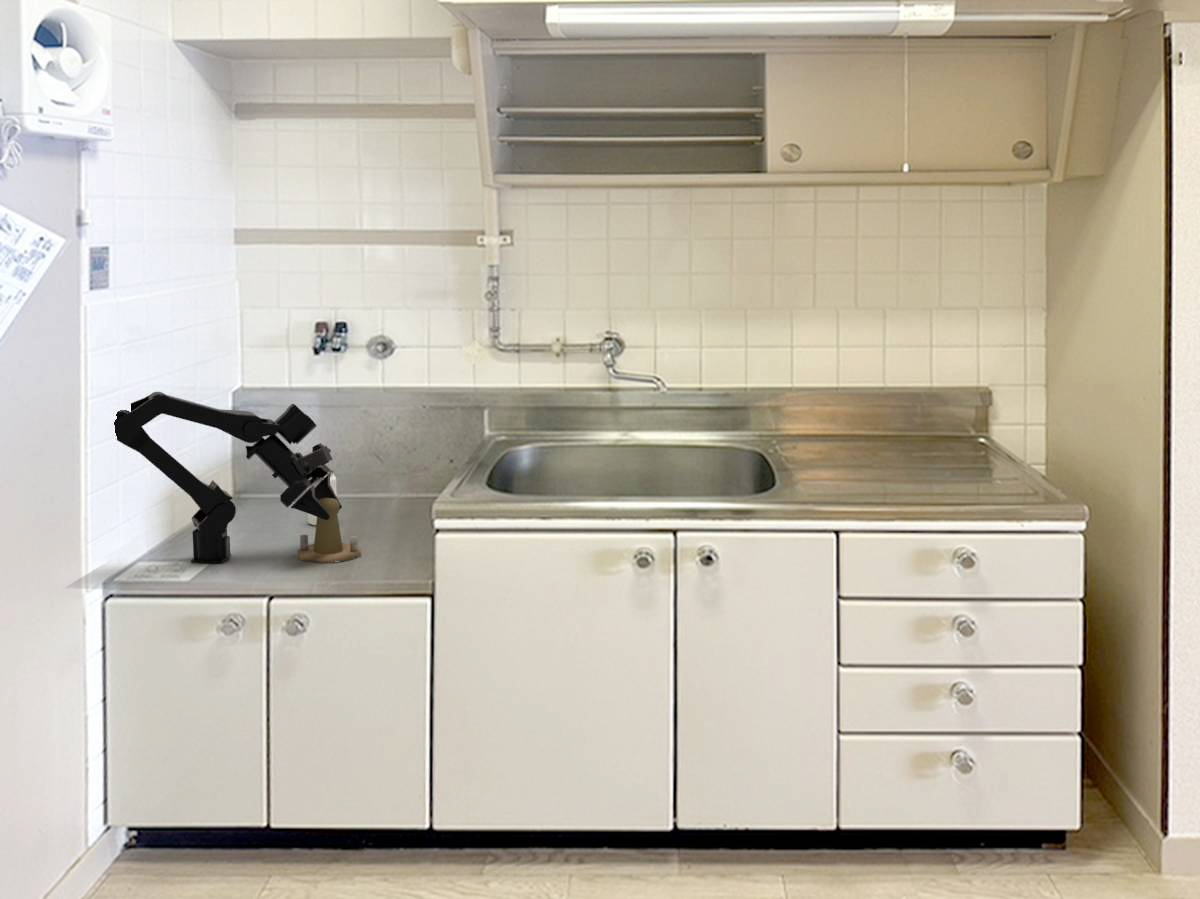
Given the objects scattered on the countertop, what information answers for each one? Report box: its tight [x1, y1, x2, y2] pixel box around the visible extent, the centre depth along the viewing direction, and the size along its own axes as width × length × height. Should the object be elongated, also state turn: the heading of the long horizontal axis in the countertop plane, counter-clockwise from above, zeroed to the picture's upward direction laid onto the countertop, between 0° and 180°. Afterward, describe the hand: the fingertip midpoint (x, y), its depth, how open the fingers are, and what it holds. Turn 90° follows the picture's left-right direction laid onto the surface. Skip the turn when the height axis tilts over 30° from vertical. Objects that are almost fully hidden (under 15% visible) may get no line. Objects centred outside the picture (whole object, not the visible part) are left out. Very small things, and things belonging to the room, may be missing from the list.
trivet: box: [296, 534, 362, 563], centre depth 298 cm, size 13×13×4 cm
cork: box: [313, 498, 343, 554], centre depth 297 cm, size 6×6×11 cm
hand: (334, 513), depth 297 cm, fingers open, 9 cm apart
